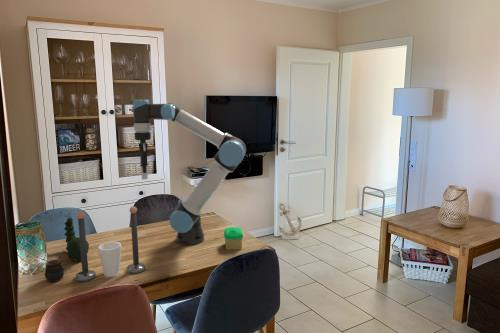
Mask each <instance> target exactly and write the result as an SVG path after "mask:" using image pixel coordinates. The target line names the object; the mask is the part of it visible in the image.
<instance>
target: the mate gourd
mask: <svg viewBox="0 0 500 333" xmlns="http://www.w3.org/2000/svg"><path fill="white" fill-rule="evenodd" d="M61 263H62V262H61V260H60V259H58V258H55V259H50V260H48V261H47V262H46V263H45V267H46V268H45V271H44V276H45V277H44V278H45V279H46V280H47V281H48V282H52V283H53V282H54V283H55V282H58V281H60V280H61V279H63V277H64V275H65V269H64V267H63V266H62V264H61Z"/></svg>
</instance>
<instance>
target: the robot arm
mask: <svg viewBox="0 0 500 333" xmlns="http://www.w3.org/2000/svg"><path fill="white" fill-rule="evenodd" d="M132 103H133V104H132V105H133V106H132V112H133V125H132V127H133V130H134V140H135V141H139V143H138V149H139V150H138V151H139V159H140V160H139V161H140V166H139V167H140V168H141V169H140V170H141V172H140V174H141V180H142V181H143V180H148V179H149V178H148V165H149V164H148V146H149V144H148V142H147V141H149V140H151V139H152V137H151V136H152V135H151V132H150V131H151V122H150V121H151V120H155V121H156V120H159V121H172V122H174V123H176V124H177V125H179V126H180V127H183V128H184V129H185V130H188V131H189V132H191V133H193V134H195V135H196V136H199V137H200V138H202V139H203V140H205V141H207V142H208V143H211V144H212V145H214V146H216V148H217V149H218V151H217V152H216V154H215V155H214V156H213V163H212V165H210V167H209V169H208V170H207V171H206V173H204V176H203V177H202V178H201V180H200V181H199V182H198V184H197V185H196V187H195V188H194V189H193V190H192V192H191V193H190V194H189V195H188V197H184V198H180V199H179V200H178V202H177V204H178V206H177V207H176V209H175V210H174V211H173V212H171V214H170V216H169V224H170V227H171V228H172V230H174V231H175V232H177V233H176V235H175V236H176V238H175V239H176V242H177V243H178V244H181V245H187V246H188V245H189V246H190V245H196V244H197V245H198V244H200V243H202V242H204V241H205V233H204V230H203V228H202V216H201V215H202V208H203V207H204V206H205V205H206V203H207V202H208V201H209V199H210V198H211V196H212V195H213V194H214V193H215V191H216V190H217V189H218V187H219V186H220V185H221V183H222V182H223V180H224V179H225V178H226V177H227V176H228V174H229V173H233V172H234V171H235V169H237V168H238V166H239V165H240V163H242V161H243V159H244V158H245V155H246V153H247V145H246V144H245V142H244V141H243V140H242V139H240V138H238V137H236V136H233V135H232V134H230V133H228V132H222V131H221V130H219V129H217V128H216V127H213V126H212V125H210V124H208V123H206V122H205V121H202V119H199V118H198V117H196V116H194V115H192V114H191V113H189V112H187V111H185V110H183V109H181V108H180V107H178V106H177V104H175V103H171V102H167V103H150V100H149V99H134V100H133V102H132Z"/></svg>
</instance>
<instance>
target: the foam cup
mask: <svg viewBox="0 0 500 333" xmlns="http://www.w3.org/2000/svg"><path fill="white" fill-rule="evenodd" d="M122 249H123V248H122V244H121V242H119V241H107V242H104V243H103V242H102V243H101V244H99V245H98V247H97V251H98V256H99V258H100V263H101V267H102V268H101V269H102V273H103V276H105V277H106V278H107V277H108V278H111V277H113V278H114V277H115V276H116V277H117V276H118V275H119V274H120V266H121V258H122V257H121V256H122V254H121V253H122Z"/></svg>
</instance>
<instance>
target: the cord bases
mask: <svg viewBox="0 0 500 333" xmlns="http://www.w3.org/2000/svg"><path fill="white" fill-rule="evenodd" d="M126 271H127V274H131V275H132V274H134V275H137V274H141V273H143V272H146V264H145V263H143V262H139V265H138V266H134V265H133V263H131V264H129V265H127V266H126ZM74 276H75V281H76V282H79V283H85V282H86V283H87V282H89V281H92V280H94V279H96V277H97V272H96V271H95V270H93V269H92V270H91V269H88V273H87V274H83V273H82V270H81V271H80V272H77V273H76V274H75V275H74Z"/></svg>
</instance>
